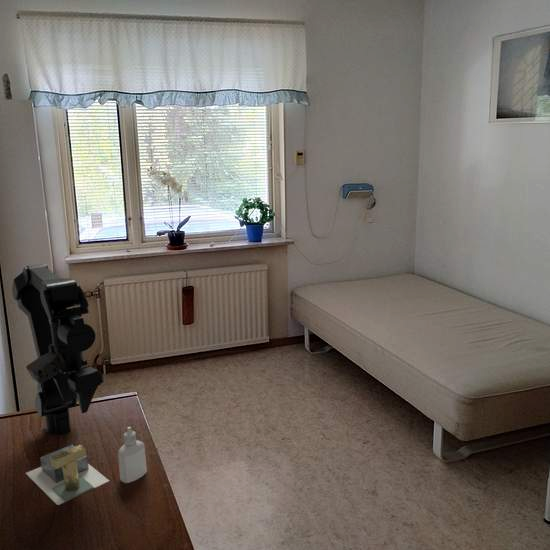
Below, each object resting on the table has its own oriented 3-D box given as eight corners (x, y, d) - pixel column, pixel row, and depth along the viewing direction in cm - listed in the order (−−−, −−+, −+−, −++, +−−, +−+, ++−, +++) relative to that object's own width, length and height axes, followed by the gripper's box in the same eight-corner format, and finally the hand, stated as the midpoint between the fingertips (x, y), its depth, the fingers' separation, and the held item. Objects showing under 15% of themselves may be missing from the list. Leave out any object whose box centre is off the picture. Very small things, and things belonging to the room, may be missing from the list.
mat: (52, 489, 113) (51, 487, 113) (80, 476, 117) (80, 475, 117) (65, 501, 109) (64, 500, 109) (93, 488, 113) (93, 486, 113)
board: (26, 477, 120) (25, 473, 119) (75, 456, 127) (74, 452, 127) (58, 509, 108) (57, 505, 108) (110, 485, 116) (109, 480, 116)
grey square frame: (41, 469, 120) (39, 457, 120) (73, 456, 125) (72, 444, 124) (55, 483, 115) (54, 470, 115) (88, 468, 120) (87, 456, 119)
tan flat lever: (84, 477, 116) (79, 443, 115) (90, 482, 114) (86, 448, 113) (54, 491, 112) (49, 456, 110) (60, 497, 110) (55, 461, 108)
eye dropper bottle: (149, 481, 116) (144, 429, 114) (121, 488, 114) (116, 435, 112) (145, 471, 120) (141, 420, 118) (119, 477, 118) (113, 425, 116)
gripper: (11, 338, 120) (21, 405, 124) (47, 360, 107) (57, 434, 111) (61, 326, 128) (69, 389, 132) (101, 344, 115) (108, 414, 119)
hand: (74, 406), depth 123 cm, fingers open, 9 cm apart
